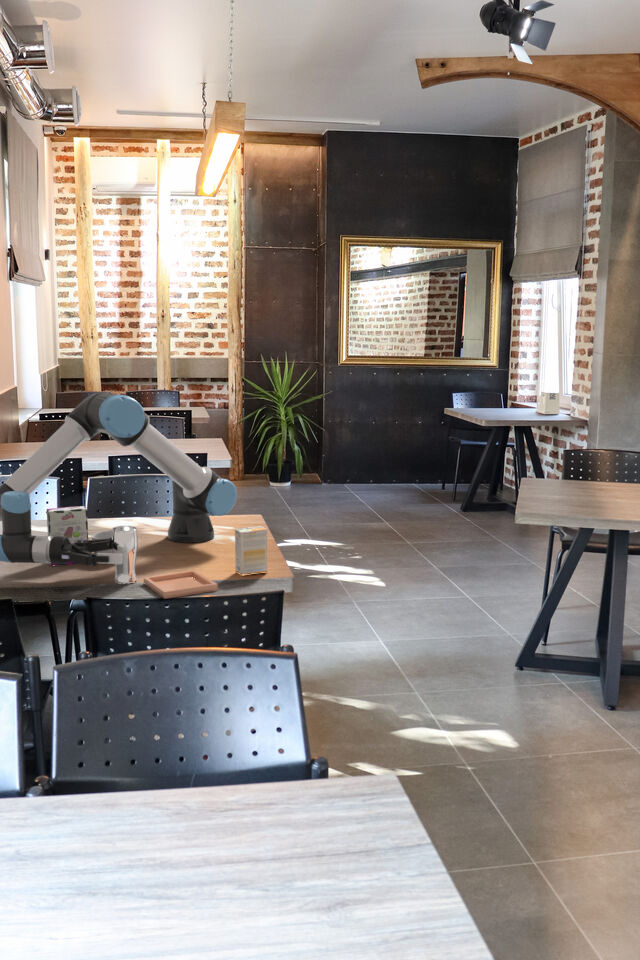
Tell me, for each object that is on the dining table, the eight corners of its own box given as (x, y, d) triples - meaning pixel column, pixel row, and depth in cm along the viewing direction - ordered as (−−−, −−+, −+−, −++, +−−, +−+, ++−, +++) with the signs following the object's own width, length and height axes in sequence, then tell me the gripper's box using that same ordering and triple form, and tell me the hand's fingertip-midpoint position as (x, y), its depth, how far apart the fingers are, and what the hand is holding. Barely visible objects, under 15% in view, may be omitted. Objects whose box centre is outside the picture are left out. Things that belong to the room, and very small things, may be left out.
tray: (194, 576, 253) (194, 570, 253) (217, 590, 240) (217, 584, 240) (143, 583, 245) (143, 577, 245) (164, 598, 233) (164, 592, 232)
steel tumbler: (116, 586, 243) (114, 532, 240) (109, 579, 249) (108, 526, 246) (141, 583, 246) (140, 529, 243) (134, 576, 252) (133, 524, 249)
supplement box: (261, 569, 261) (261, 525, 259) (267, 573, 257) (268, 529, 255) (234, 572, 258) (234, 528, 255) (240, 577, 253) (240, 531, 251)
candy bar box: (86, 559, 269) (85, 505, 266) (89, 563, 265) (88, 508, 262) (48, 562, 265) (46, 507, 262) (50, 566, 260) (48, 511, 257)
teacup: (120, 565, 263) (119, 538, 262) (85, 563, 265) (84, 536, 264) (139, 553, 276) (138, 528, 275) (106, 551, 278) (105, 526, 277)
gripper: (68, 551, 260) (141, 553, 258) (36, 575, 235) (116, 578, 234) (67, 526, 258) (140, 528, 257) (34, 548, 234) (115, 550, 232)
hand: (129, 552), depth 245 cm, fingers open, 13 cm apart
